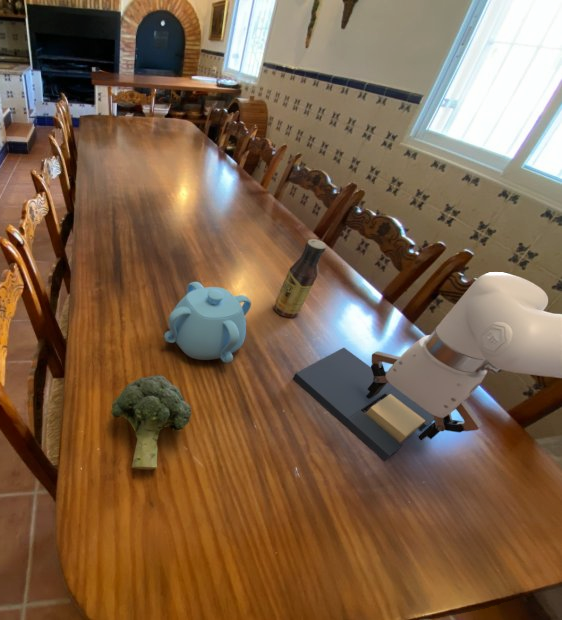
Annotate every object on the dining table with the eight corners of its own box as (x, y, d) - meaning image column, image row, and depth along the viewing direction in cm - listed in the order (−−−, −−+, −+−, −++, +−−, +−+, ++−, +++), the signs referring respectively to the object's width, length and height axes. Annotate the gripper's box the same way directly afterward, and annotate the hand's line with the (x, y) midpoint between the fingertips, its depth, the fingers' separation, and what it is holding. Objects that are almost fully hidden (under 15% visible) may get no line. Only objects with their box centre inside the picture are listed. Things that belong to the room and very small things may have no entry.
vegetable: (87, 458, 55) (108, 365, 61) (140, 469, 63) (154, 386, 69) (147, 470, 47) (164, 362, 53) (198, 481, 55) (208, 386, 61)
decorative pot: (224, 382, 72) (241, 333, 63) (154, 348, 77) (161, 299, 69) (248, 335, 83) (266, 288, 74) (186, 309, 88) (195, 262, 80)
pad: (415, 430, 66) (425, 420, 64) (395, 446, 63) (405, 436, 61) (381, 403, 70) (390, 393, 68) (362, 417, 67) (370, 407, 65)
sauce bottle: (271, 301, 93) (298, 233, 80) (295, 305, 93) (326, 236, 80) (275, 317, 88) (304, 247, 75) (300, 321, 88) (335, 251, 75)
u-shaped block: (432, 422, 68) (437, 416, 66) (384, 461, 61) (390, 455, 60) (340, 352, 80) (343, 347, 79) (292, 378, 74) (295, 372, 72)
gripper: (536, 380, 50) (457, 444, 61) (412, 309, 61) (365, 374, 72) (514, 401, 47) (435, 465, 58) (388, 322, 58) (342, 388, 69)
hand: (396, 414), depth 65 cm, fingers open, 9 cm apart
